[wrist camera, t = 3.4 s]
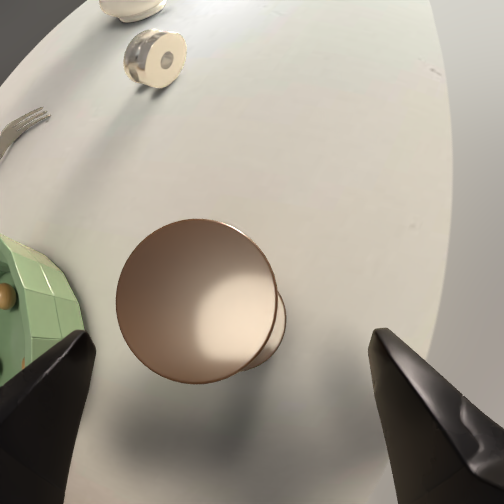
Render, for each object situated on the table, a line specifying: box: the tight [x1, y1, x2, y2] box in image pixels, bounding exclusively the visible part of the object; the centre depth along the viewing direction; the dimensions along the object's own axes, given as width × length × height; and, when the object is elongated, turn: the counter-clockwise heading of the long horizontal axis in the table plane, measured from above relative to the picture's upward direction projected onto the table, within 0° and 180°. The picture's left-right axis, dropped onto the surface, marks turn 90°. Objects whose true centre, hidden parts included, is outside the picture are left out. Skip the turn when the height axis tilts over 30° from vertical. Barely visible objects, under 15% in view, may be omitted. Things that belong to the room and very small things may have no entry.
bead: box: [0, 283, 16, 310], centre depth 17 cm, size 2×2×2 cm
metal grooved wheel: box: [123, 29, 187, 88], centre depth 20 cm, size 5×3×5 cm, turn 150°
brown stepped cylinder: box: [116, 219, 286, 384], centre depth 11 cm, size 4×4×12 cm
